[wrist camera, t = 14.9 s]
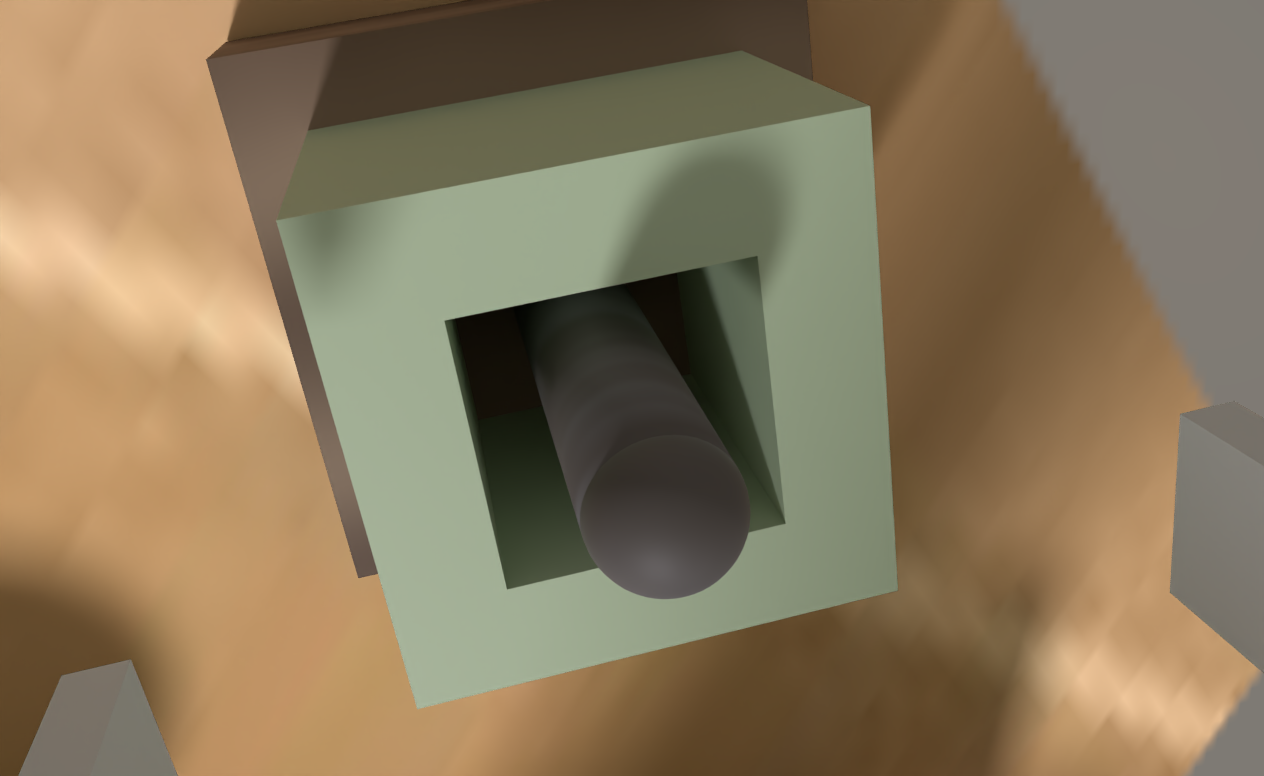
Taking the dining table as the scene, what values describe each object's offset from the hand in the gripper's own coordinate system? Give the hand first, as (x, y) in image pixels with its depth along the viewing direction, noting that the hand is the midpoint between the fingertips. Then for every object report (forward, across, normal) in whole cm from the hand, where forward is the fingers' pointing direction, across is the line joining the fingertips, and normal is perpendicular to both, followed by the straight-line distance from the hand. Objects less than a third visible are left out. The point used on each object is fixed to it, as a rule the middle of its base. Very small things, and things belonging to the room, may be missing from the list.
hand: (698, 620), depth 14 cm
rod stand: (+15, 0, 0) cm, 15 cm away
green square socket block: (+12, 0, 0) cm, 12 cm away
